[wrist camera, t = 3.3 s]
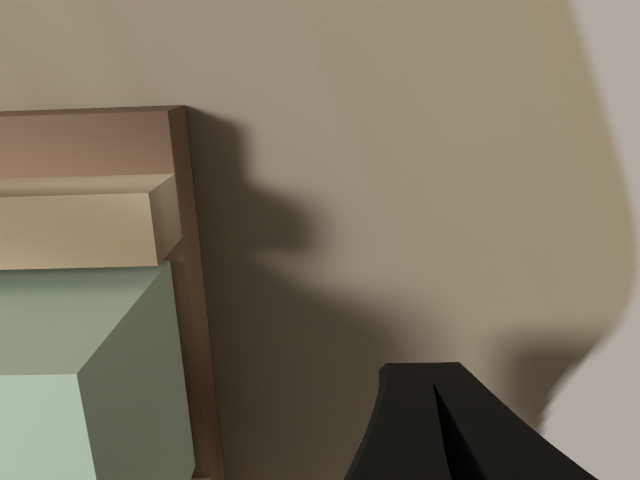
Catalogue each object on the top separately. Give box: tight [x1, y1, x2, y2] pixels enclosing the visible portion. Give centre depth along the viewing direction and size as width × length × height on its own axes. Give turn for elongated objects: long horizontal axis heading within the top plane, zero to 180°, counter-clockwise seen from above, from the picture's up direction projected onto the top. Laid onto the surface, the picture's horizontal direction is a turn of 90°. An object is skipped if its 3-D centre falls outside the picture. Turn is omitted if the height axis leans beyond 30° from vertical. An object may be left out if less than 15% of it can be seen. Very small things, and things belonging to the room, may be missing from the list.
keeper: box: [0, 260, 195, 480], centre depth 10 cm, size 5×4×4 cm
